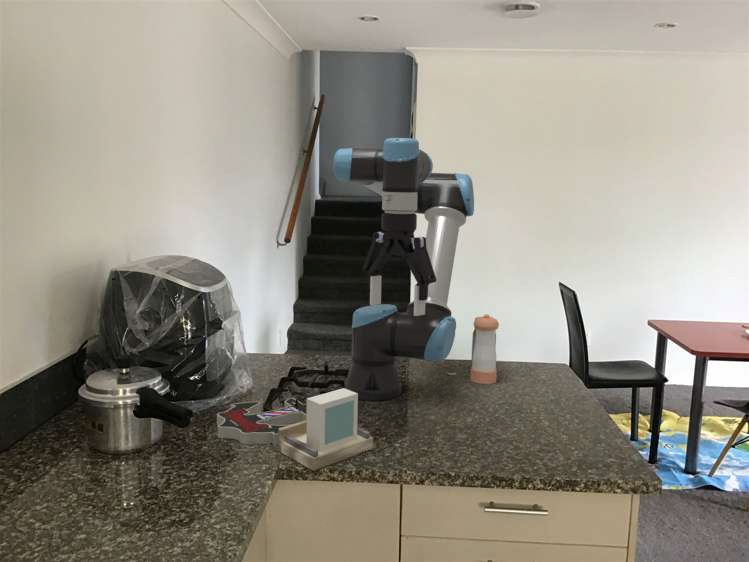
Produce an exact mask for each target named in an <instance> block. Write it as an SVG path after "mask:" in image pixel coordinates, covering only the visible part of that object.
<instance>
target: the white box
mask: <svg viewBox="0 0 749 562" xmlns="http://www.w3.org/2000/svg"><path fill="white" fill-rule="evenodd" d="M358 403H359V399H358V393H355V392H352V391H350V390H347V389H345V387H342V388H339V389H336V390H331V391H329V392H326V393H322V394H318V395H315V396H311V397H307V398H306V404H307V445H309V446H311V447H313V448H315V449H317V450H318V451H320V452H321V451H324V450H327V449H329V448H332V447H335V446H338V445H341V444H344V443H346V442H349V441H352V440H355V439H357V427H358V410H359V409H358V406H359V404H358Z"/></svg>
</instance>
